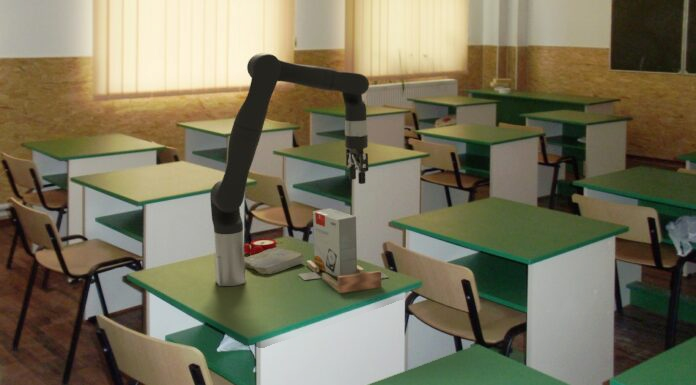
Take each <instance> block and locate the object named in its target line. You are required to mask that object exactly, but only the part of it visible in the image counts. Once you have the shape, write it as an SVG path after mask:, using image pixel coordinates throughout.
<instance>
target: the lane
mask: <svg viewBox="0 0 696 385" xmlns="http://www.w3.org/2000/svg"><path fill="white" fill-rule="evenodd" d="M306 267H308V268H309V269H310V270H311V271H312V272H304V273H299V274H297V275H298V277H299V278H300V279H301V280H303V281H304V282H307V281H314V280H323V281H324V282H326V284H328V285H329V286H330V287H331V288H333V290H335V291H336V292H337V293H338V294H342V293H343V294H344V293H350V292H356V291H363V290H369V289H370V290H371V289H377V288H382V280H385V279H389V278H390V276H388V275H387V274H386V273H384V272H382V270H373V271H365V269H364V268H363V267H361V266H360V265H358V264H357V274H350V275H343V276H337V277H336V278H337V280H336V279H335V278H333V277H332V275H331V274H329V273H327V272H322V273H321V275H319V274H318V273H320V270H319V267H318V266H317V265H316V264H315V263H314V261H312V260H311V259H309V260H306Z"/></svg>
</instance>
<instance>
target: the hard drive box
mask: <svg viewBox="0 0 696 385" xmlns="http://www.w3.org/2000/svg"><path fill="white" fill-rule="evenodd" d="M312 227H313V228H312V230H313V232H312V233H313V255H314V256H313V263H315V264H316V265H317V266H318V267H319V271H322V272H324V273H327V274H328V275H330V276H333V277H335V278H337V276H343V275H350V274H357V265H358V260H357V259H358V256H357V255H358V254H357V253H358V252H357V250H358V249H357V247H358V246H357V217H356V216H355V215H352V214H348V213H345V212H343V211H339V210H337V209H334V208H324V209H318V210H313V211H312Z"/></svg>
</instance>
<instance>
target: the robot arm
mask: <svg viewBox="0 0 696 385" xmlns="http://www.w3.org/2000/svg"><path fill="white" fill-rule="evenodd" d="M246 67H247V68H246V70H247V73H248V75H249V77H250V78H251V80H250V85H249V88H248V92H247V95H246V97H245V100H244V101H243V103H242V105H241V107H240V109H239V110H238V112H237V114H236V116H235V119H234V121H233V123H232V124H233V125H232V128H231V131H230V134H229V138H228V145H227V146H228V148H227V163H226V168H225V171H224V173H223V174H224V175H223V178H222V180H219V181H217V182H216V183H214V184H213V186H212V187H211V190H210V196H209V197H210V198H209V199H210V210H211V213H210V214H211V220H212V225H213V231H214V233H213V234H214V249H215V250H214V253H213V259H214V260H213V261H214V274H215V275H214V276H215V277H214V278H215V283H216V284H217V285H218V287H234V286H240V285H242V284H243V285H244V284H245V283H246V282H247V280H246V278H247V277H246V267H245V258H246V257H245V253H244V245H245V242H244V241H245V240H244V226H243V224H244V223H243V220H242V217H241V216H242V215H241V210H240V207H241V206H242V204H243V202H244V198H245V194H246V187H247V183H248V177H249V173H250V169H251V167H252V165H253V162H254V158H255V155H256V152H257V148H258V145H259V142H260V140H261V136H262V132H263V128H264V125H265V121H266V117H267V113H268V109H269V106H270V101H271V98H272V96H273V93H274V91H275V88H276V86H277V83H278V82H284V83H290V84H291V83H292V84H294V85H295V84H296V85H300V86H305V87H309V88H311V89H312V88H313V89H319V90H322V91H323V90H324V91H332V92H340V93H342V94H341V95H342V99H343V102H344V103H343V104H344V108H345V109H344V112H345V118H344V119H345V120H344V121H345V122H344V123H345V124H344V139H345V140H344V141H345V142H344V143H345V144H344V145H345V148H346V149H345V166H346V167H347V169H348V175H349V176H348V178H349V180H352V181H353V180H356V178H357V175H358V184H360V185H362V184H363V185H364V184H366V172H369V156H368V155H369V154H368V153H367V152H365V151H364V149H367V148H368V146H369V144H368V139H369V135H368V122H367V121H368V120H367V105H366V103H364V100H363V95H364V94H365V93H366V92H368V90H369V87H370V82H369V80H368V78H367V77H366V76H365V75H364V74H362V73H355V72H349V71H340V70H336V69H333V68H328V67H324V66H315V65H309V64H298V63H294V62H293V63H292V62H287V61H283V60H280V59H278V57H277V56H275V55H274V54H271V53H263V52H262V53H257V54H255V55H253V56H252V57H250V58H249V60H248V62H247V65H246ZM364 152H365V153H364ZM356 168H357V170H356ZM357 172H358V174H357Z"/></svg>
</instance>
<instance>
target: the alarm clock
mask: <svg viewBox="0 0 696 385" xmlns="http://www.w3.org/2000/svg"><path fill="white" fill-rule="evenodd" d="M278 244H279V242H277V241H276V239H273V238H258V239H254V240H252V241H250V244H249V243H244V255H246V256H247V255H249V256H252V255H255V254H258V253H261V252H263V251H265V250H268V249H273V248H278V247H277V245H278ZM280 244H283V242H282V241H281V242H280Z"/></svg>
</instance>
